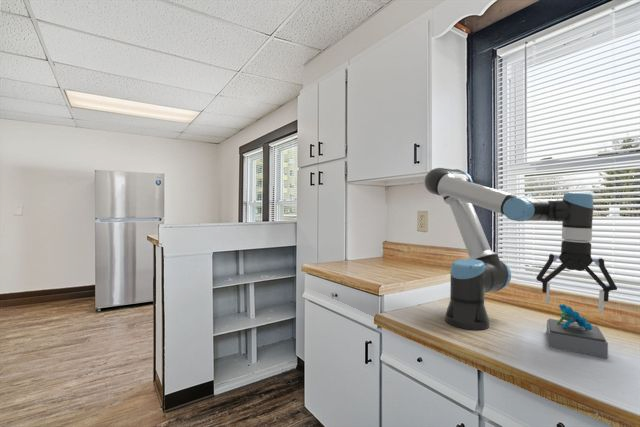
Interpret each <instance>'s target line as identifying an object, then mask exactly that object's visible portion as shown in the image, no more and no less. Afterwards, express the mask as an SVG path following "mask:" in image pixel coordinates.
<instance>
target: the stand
mask: <svg viewBox="0 0 640 427" xmlns="http://www.w3.org/2000/svg"><path fill="white" fill-rule="evenodd" d="M559 320H560V319H553V318H548V319H546V337H547V338H546V339H547V347H549V348H552V349H553V348H554V349H560V350H563V351H569V352H574V353H580V354H583V355H589V356H594V357H599V358H604V359H608V358H609V356H608V354H609V353H608V348H609V345H608V344H609V342H608V341H607V338H606V337H605V336H604V334H603V332H602V330H601V329H600V327H598V325H597V326H596V325H592V326H591V327H592V328H593V329H592V330H589V329H588V330H586V329H585V328H584V327H580V326H579V325H578V323H577V322H574V323H571V324H570V325H569V326H568V327H567V328H563V327H562V326H563V325H564V324H565V323H566V322H567V321H566V320H563V321H562V322H560V323H559V324H558V323H557V322H558V321H559Z"/></svg>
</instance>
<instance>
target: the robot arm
mask: <svg viewBox="0 0 640 427" xmlns="http://www.w3.org/2000/svg"><path fill="white" fill-rule="evenodd" d="M424 186H425V189H426V191H428V192H429V193H431V194H432V195H437V196H440V197H442V198H443V201H444V203H445V204H446V205H449V206H450V209H451V211H452V214H453V217H454V219H455V222H456V225H457V227H458V230H459V233H460V235H461V238H462V240H463V241H462V242H463V244H464V246H465V249H466V251H467V254H468V258H465V259H464V258H463V259H457V260H455V261H453V262H452V263H451V266H450V273H449V274H450V289H449V290H450V295H449V297H450V300H449V302H448V305H447V308H446V311H445V315H444V321H445V322H446V324H448V325H451V326H453V327H456V328H460V329H463V330H464V329H465V330H473V331H477V330H486V329H489V327H490V319H489V315H488V313H487V312H488V311H487V309H486V306H485V294H486V293H492V292H497V291H500V290H503V289H505V288H507V286H509V284H510V282H511V280H512V271H511V269H510V267H509V266H508V264H506V263H505V262H503V261H501V260H500V258H499V254H498V253H497V252H494V251H493V250H492V248H491V247H490V244H489V242H488V241H489V240H488V239H487V237H486V236H487V235H486V233H485V232H484V229H483V226H482V224H481V221H480V220H479V216H478V214H477V212H476V210H475V206H477V207H480V208H483V209H486V210H489V211H492V212H495V213H498V214H500V215H503V216H505V217H506V218H507V219H508V220H511V221H514V222H515V221H516V222H541V221H542V222H559V223H560V222H561V223H562V226H561V229H562V230H561V239H562V241H561V246H560V248H561V249H560V254H559V255H557V254H554V253H550V254H549V255H548V260H547V261H546V262H545V264H544V266H543V267H542V269H541V270H540V271H539V273H538V274H537V275H536V281H537V282H538V281H539V282H541V283H542V286H541V287H542V290H541V291H542V293H544V294H545V304H547V305H549V304H550V287H551V286H550V284H551V283H550V282H551V280H552V279H554V278H556V277H557V276H558V275H559V274H560V273H561V272H562V271H564V270H565V269H567V270H569V271H574V270H575V271H579V272H582V271H586V272H587V273H588V274H589V275H590V276H591V278H592V279H594V282H596V283H597V284H598V285H599V286H600V287H601V288H602V289H600V288H599V294H598V311H599V313H604V306H605V305H604V304H605V303H604V302H607V303H608V302H609V294H610V291H617V290H618V287H617V286H616V285H617V284H616V283H615V282H614V280H613V278H612V277H611V274H610V273H609V271H608V269H607V267H606V265H605V259H603V258H602V257H598V258H596V257H595V258H593V257H592V243H591V241H592V238H593V219H594V216H593V215H594V209H595V208H594V196H593V194H592V193H589V192H566V193H564V194H563V197H562V198H557V199H556V198H554V199H553V198H551V199H550V198H530V197H525V196H521V195H518V194H513V193H509V192H506V191H503V190H500V189H496V188H492V187H488V186H485V185H482V184H479V183H475V182H473V179H472V176H470V174H469V173H468V172H466V171H464V170H461V169H457V168H456V169H451V168H445V167H437V168H433V169H431V170H429V171H428V173H427V174H425V178H424ZM557 260H559V261H560V262H561V264H559V265H558V266H557V267H555V269H554V270H553V271H551V272H550V273H549V274H548V275H546V273H547V272H548V270H549V269H550V267H551V266H552V265H553V262H556V261H557ZM593 263H594V264H595V265H596V266H598V268H599V270H600V271H601V273H602V275H603V277H604V278H605V280H606V282H607V284H608V285H606V284H605V283H604V282H603V281H602V279H601V278H599V277H598V275H596V273H595V272H594V271H593V270H592V269H591V268H590V267H589V266H590V265H591V264H593ZM545 275H546V276H545ZM544 276H545V277H544ZM543 277H544V278H543Z"/></svg>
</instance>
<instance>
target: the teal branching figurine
mask: <svg viewBox="0 0 640 427" xmlns="http://www.w3.org/2000/svg"><path fill="white" fill-rule="evenodd" d="M558 307H559V310H560V311H561V312H560V315H561V316H560V319H558V320H559V321H558V322H557V323H558V324H559V323H560V322H562V321H567V322H566V323H565V324H564V325H563V326H562V327H563V328H567V327H568V326H569V325H570V324H571V323H578V325H579V326H580V327H584V328H585V329H586V330H588V329H589V330H592V329H593V328H592V327H591V326H593V325H592V324H591V323H590V322H589V321H588V320H587V318H585V317H584V316H582V317H581V316H580V312H578V311H576V310H575V311H574V309H573V308H572V307H570V306H567V305H566V304H564V303H563V304H561V303H560V304H559V305H558ZM587 321H588V322H587Z"/></svg>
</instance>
